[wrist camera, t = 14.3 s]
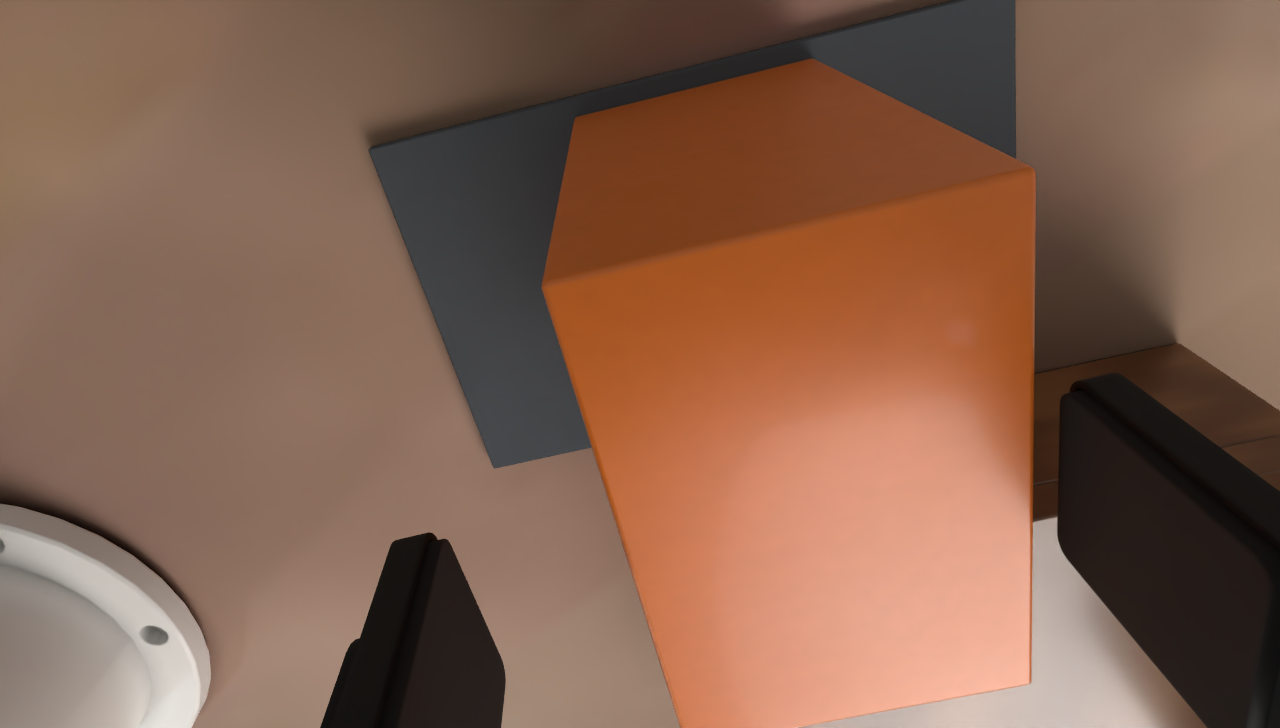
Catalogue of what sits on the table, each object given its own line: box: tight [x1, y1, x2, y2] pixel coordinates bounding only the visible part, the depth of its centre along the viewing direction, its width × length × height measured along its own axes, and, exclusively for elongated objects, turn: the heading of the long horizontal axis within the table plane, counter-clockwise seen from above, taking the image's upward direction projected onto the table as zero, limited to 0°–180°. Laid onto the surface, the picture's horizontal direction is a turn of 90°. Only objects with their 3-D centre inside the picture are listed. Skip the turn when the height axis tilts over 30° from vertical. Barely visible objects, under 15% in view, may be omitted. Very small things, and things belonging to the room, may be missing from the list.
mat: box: [369, 0, 1016, 468], centre depth 21 cm, size 16×10×1 cm, turn 103°
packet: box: [542, 59, 1036, 728], centre depth 16 cm, size 6×9×11 cm, turn 13°
